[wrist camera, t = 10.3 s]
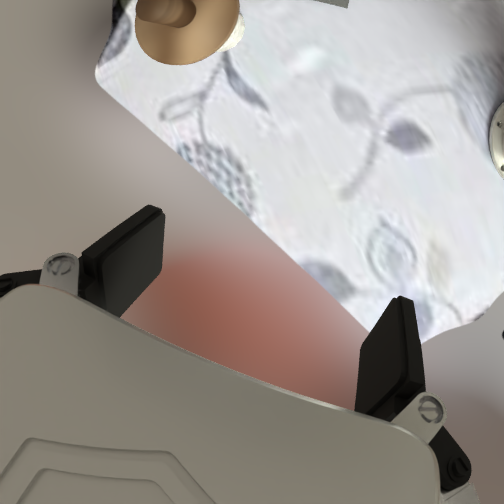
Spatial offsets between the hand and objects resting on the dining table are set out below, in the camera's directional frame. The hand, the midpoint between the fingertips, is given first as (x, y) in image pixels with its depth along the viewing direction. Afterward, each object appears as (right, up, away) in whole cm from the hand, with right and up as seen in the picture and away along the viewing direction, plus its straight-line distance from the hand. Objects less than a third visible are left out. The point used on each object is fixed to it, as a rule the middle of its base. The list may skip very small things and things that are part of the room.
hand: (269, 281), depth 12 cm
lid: (-7, +24, +11) cm, 27 cm away
